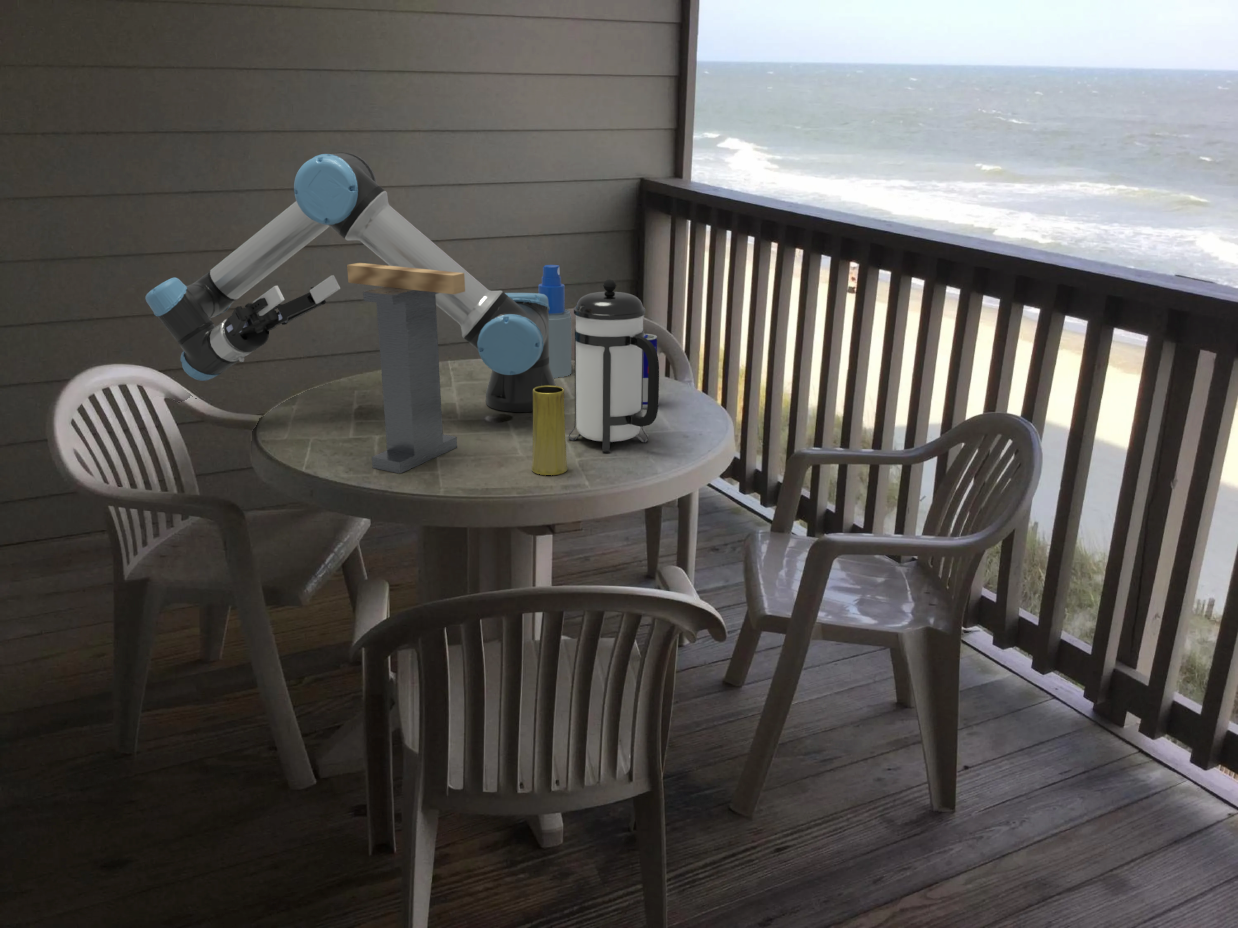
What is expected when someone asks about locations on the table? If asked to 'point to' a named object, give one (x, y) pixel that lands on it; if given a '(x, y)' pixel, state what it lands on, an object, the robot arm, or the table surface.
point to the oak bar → (406, 278)
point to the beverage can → (645, 369)
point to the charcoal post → (409, 378)
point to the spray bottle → (557, 322)
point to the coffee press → (612, 368)
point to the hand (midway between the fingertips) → (308, 287)
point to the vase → (549, 431)
